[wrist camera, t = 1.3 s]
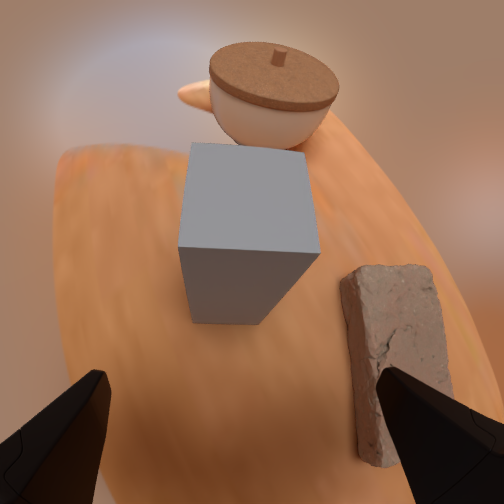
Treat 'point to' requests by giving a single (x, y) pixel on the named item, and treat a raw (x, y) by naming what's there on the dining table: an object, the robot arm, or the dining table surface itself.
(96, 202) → the dining table surface
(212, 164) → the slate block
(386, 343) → the brick
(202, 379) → the dining table surface
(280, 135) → the lidded bowl
